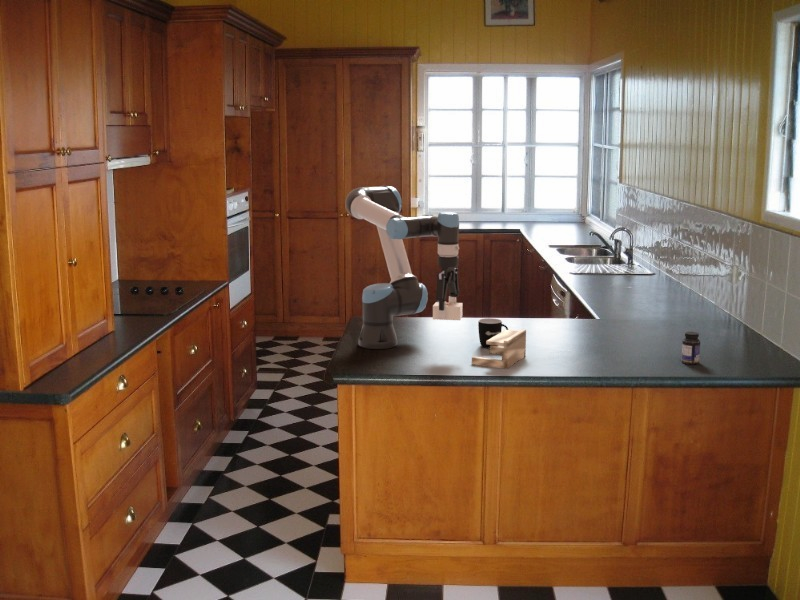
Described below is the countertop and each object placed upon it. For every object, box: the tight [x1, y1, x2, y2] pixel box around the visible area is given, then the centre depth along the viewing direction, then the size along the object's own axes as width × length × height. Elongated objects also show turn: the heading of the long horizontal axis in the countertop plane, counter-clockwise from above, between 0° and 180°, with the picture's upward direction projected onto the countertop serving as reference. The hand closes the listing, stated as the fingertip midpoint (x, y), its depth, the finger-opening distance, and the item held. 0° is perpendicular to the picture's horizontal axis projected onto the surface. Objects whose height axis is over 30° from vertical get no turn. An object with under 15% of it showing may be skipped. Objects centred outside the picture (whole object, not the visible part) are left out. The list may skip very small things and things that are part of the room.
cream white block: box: [432, 301, 464, 321], centre depth 325 cm, size 10×7×6 cm
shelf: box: [471, 328, 527, 370], centre depth 321 cm, size 14×19×10 cm
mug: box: [477, 317, 509, 349], centre depth 341 cm, size 12×9×10 cm
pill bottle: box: [681, 330, 701, 365], centre depth 316 cm, size 6×6×11 cm
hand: (447, 316), depth 325 cm, fingers closed on cream white block, 8 cm apart
